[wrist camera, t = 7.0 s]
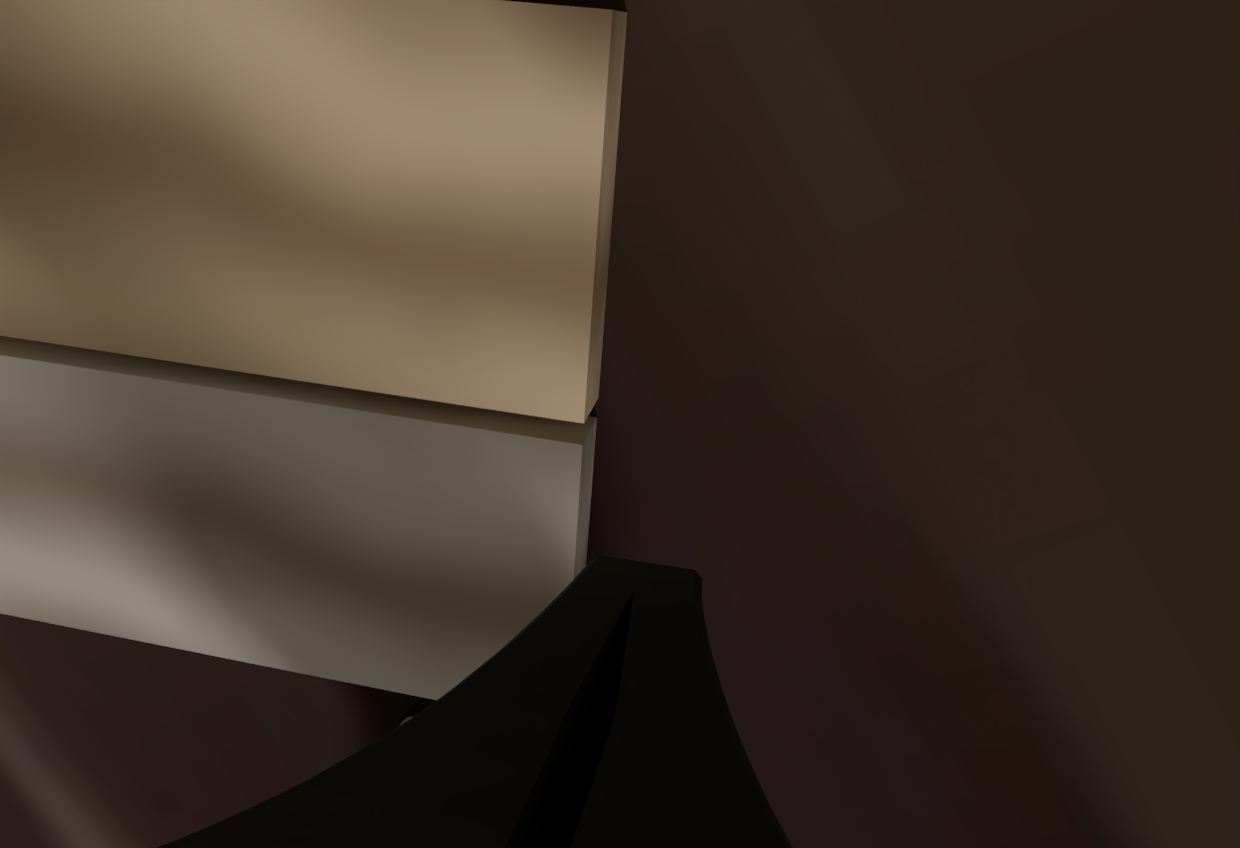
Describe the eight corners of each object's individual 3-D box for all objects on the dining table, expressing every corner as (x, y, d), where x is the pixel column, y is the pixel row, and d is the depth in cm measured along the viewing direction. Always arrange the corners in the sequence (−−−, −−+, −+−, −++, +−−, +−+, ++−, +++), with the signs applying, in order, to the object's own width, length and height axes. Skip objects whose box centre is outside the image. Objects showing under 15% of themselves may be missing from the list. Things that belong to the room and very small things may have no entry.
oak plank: (598, 397, 20) (583, 423, 19) (-219, 278, 23) (-283, 293, 22) (627, 12, 17) (612, 9, 15) (-332, -69, 20) (-416, -78, 18)
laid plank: (577, 686, 23) (563, 725, 22) (-128, 550, 26) (-177, 577, 25) (597, 417, 20) (582, 444, 19) (-213, 296, 23) (-276, 312, 22)
